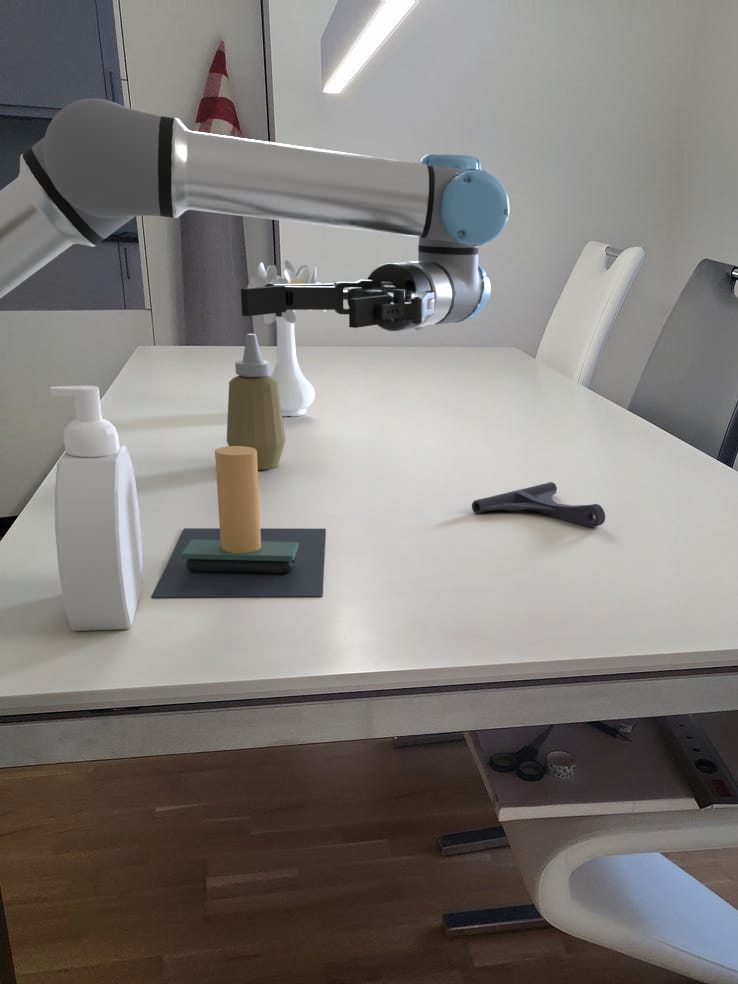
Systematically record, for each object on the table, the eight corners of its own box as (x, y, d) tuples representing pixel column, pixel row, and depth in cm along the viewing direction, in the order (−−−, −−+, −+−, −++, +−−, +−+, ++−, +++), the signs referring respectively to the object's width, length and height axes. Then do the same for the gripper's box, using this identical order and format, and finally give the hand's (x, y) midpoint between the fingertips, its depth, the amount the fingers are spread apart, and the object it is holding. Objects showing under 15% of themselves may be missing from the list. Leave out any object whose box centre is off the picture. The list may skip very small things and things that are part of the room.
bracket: (562, 540, 119) (564, 517, 118) (471, 511, 129) (472, 490, 127) (636, 519, 129) (639, 497, 128) (547, 494, 138) (548, 473, 137)
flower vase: (253, 425, 171) (246, 265, 161) (252, 404, 188) (245, 258, 178) (332, 424, 174) (330, 267, 164) (324, 404, 190) (321, 260, 180)
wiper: (183, 574, 104) (173, 454, 99) (192, 559, 108) (184, 443, 103) (293, 576, 104) (289, 457, 99) (298, 561, 108) (295, 446, 104)
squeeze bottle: (258, 456, 151) (253, 329, 144) (298, 466, 147) (294, 335, 140) (215, 466, 145) (207, 333, 138) (255, 476, 140) (249, 339, 133)
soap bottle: (89, 578, 102) (65, 372, 94) (145, 577, 103) (126, 372, 95) (62, 642, 87) (32, 405, 79) (128, 640, 88) (104, 405, 80)
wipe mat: (151, 598, 98) (151, 597, 97) (183, 529, 118) (183, 528, 118) (322, 596, 100) (322, 595, 100) (325, 529, 120) (325, 528, 120)
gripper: (498, 338, 119) (400, 358, 101) (321, 319, 129) (204, 334, 112) (501, 269, 116) (401, 277, 98) (320, 256, 126) (200, 261, 109)
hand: (296, 307), depth 105 cm, fingers open, 13 cm apart
